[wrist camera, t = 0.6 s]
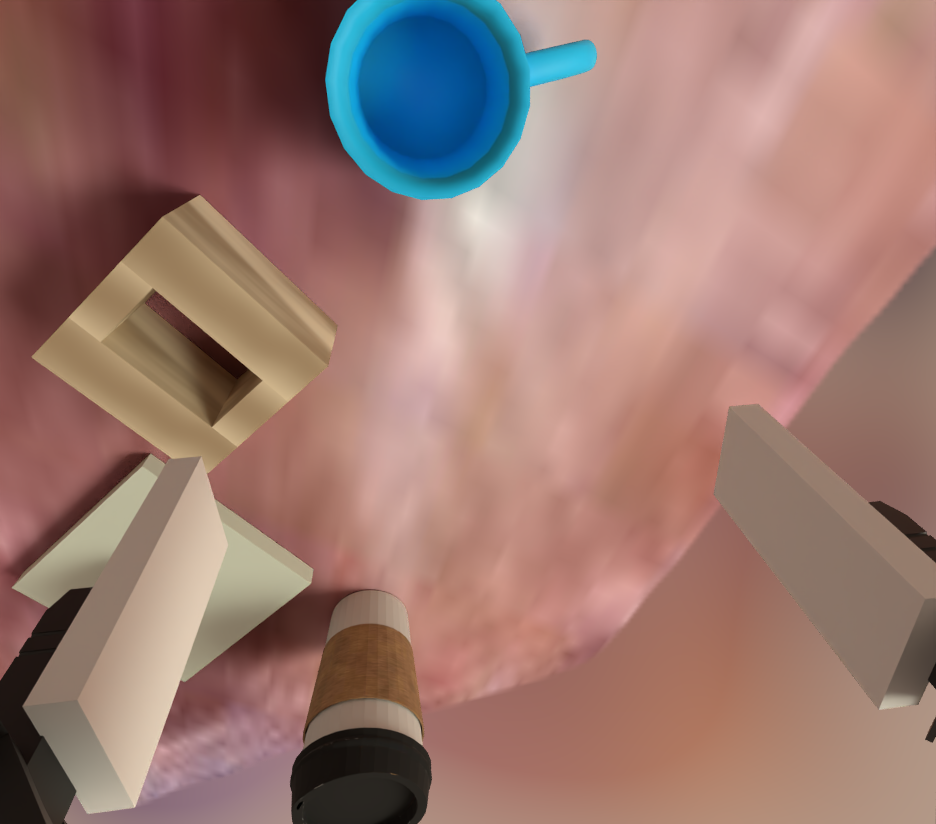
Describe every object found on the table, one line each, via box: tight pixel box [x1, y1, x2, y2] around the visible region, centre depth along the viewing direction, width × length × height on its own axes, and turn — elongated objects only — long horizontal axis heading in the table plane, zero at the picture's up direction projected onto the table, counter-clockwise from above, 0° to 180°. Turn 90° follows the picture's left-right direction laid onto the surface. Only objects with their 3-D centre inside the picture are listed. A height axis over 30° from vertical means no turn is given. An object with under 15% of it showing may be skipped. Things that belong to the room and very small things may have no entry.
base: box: [12, 454, 313, 682], centre depth 41 cm, size 14×14×8 cm
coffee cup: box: [290, 590, 432, 824], centre depth 42 cm, size 8×8×15 cm
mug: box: [325, 0, 597, 200], centre depth 28 cm, size 12×8×8 cm
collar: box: [32, 195, 337, 474], centre depth 34 cm, size 10×10×6 cm
